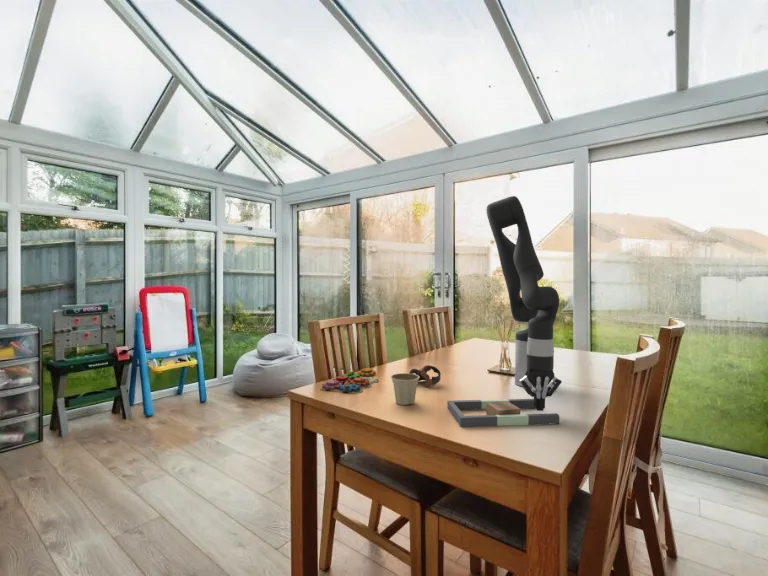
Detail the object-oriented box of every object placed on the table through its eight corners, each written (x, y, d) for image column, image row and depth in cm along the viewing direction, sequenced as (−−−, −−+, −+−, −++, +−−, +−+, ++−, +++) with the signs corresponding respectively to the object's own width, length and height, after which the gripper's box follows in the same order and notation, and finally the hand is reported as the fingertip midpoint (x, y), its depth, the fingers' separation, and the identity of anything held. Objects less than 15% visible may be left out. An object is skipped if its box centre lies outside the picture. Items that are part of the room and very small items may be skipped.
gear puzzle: (356, 372, 173) (356, 362, 173) (390, 375, 167) (390, 366, 167) (317, 391, 145) (317, 380, 145) (357, 396, 139) (357, 385, 138)
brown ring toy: (434, 381, 159) (441, 366, 155) (436, 398, 150) (443, 382, 147) (406, 374, 158) (412, 358, 154) (406, 390, 149) (412, 374, 146)
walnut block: (507, 414, 121) (507, 401, 120) (520, 422, 114) (520, 408, 114) (486, 416, 119) (486, 402, 119) (498, 424, 112) (498, 410, 112)
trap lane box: (534, 406, 127) (534, 398, 127) (559, 423, 112) (559, 415, 112) (447, 408, 125) (447, 400, 125) (460, 426, 110) (460, 417, 110)
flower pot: (389, 398, 135) (389, 373, 135) (416, 397, 136) (416, 372, 135) (392, 407, 126) (392, 380, 125) (421, 406, 126) (421, 379, 126)
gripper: (555, 350, 123) (554, 405, 124) (513, 350, 122) (513, 406, 123) (568, 355, 116) (567, 413, 116) (523, 355, 115) (523, 414, 115)
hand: (539, 409), depth 120 cm, fingers closed
